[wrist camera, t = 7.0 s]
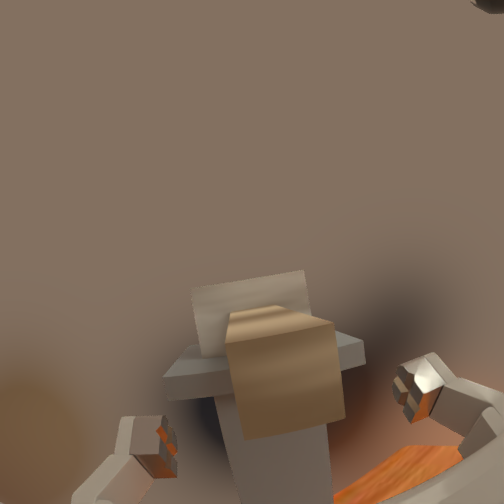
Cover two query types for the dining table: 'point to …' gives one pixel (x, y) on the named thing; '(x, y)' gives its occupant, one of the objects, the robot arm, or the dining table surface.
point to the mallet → (272, 352)
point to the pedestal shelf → (268, 448)
